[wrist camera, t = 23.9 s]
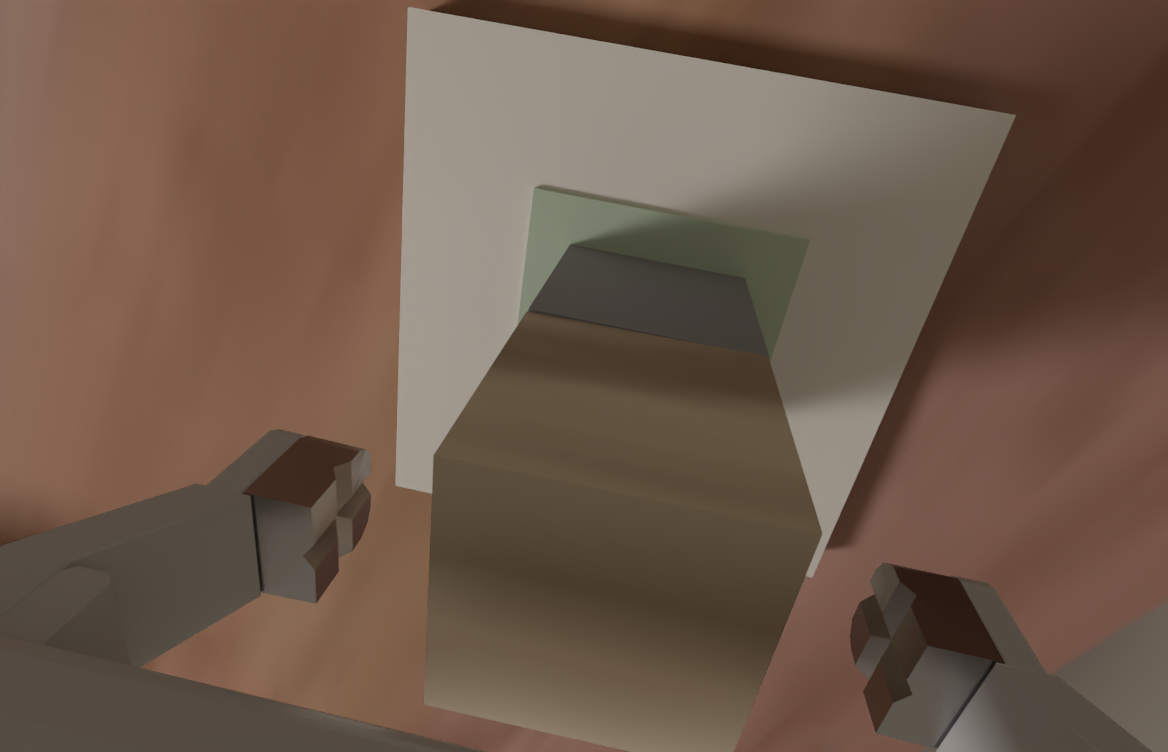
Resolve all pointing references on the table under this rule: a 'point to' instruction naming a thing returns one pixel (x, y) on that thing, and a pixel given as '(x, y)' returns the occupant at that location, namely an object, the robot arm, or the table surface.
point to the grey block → (652, 299)
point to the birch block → (615, 539)
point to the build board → (675, 215)
